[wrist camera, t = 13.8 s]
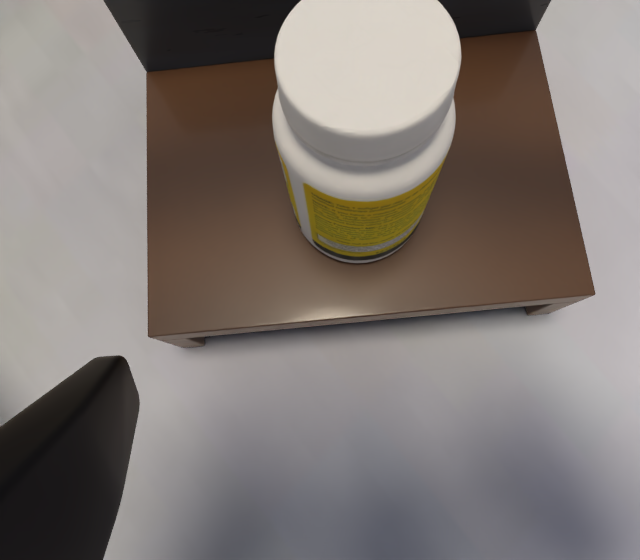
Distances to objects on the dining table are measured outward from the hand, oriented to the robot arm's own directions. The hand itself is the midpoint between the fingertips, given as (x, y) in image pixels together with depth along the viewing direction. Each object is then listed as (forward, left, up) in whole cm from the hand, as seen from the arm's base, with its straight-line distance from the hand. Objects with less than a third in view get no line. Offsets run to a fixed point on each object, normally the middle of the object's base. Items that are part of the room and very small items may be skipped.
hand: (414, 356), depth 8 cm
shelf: (+8, -1, -14) cm, 16 cm away
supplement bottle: (+6, -1, -10) cm, 12 cm away
